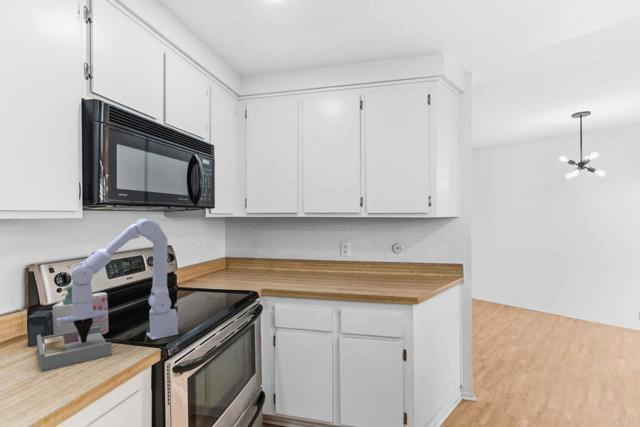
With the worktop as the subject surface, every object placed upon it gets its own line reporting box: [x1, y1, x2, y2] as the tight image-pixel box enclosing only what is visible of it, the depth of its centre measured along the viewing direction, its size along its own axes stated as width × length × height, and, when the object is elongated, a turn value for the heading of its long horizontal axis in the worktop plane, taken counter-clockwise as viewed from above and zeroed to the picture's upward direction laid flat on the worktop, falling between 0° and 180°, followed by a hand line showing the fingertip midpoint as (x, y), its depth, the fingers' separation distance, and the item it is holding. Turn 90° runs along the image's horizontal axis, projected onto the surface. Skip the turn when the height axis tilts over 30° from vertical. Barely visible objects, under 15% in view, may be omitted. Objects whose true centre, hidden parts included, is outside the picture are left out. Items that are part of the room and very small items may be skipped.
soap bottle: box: [52, 284, 77, 335], centre depth 141 cm, size 9×9×19 cm
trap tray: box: [36, 326, 112, 372], centre depth 126 cm, size 18×22×5 cm
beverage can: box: [91, 292, 109, 336], centre depth 145 cm, size 6×6×15 cm
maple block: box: [44, 336, 65, 354], centre depth 122 cm, size 5×5×4 cm
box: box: [27, 309, 53, 348], centre depth 136 cm, size 8×6×11 cm
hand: (83, 341), depth 128 cm, fingers closed
